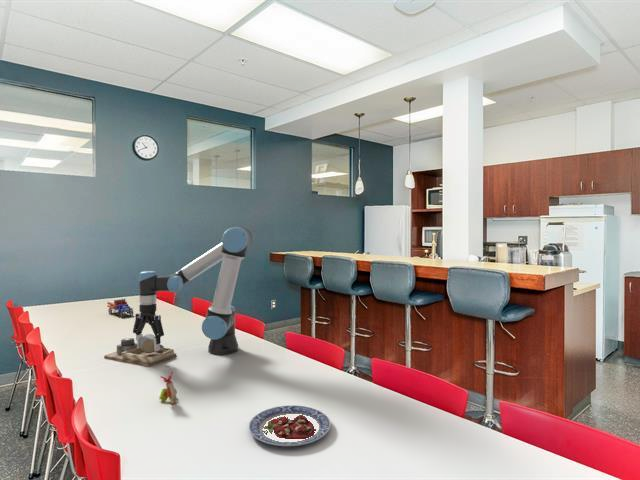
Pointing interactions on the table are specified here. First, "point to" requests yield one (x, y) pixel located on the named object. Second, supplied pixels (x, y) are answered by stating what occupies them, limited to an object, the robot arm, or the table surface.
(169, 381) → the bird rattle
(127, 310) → the toy truck
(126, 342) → the wheel
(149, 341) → the ceramic mug
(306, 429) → the ceramic plate
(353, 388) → the table surface
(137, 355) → the board
